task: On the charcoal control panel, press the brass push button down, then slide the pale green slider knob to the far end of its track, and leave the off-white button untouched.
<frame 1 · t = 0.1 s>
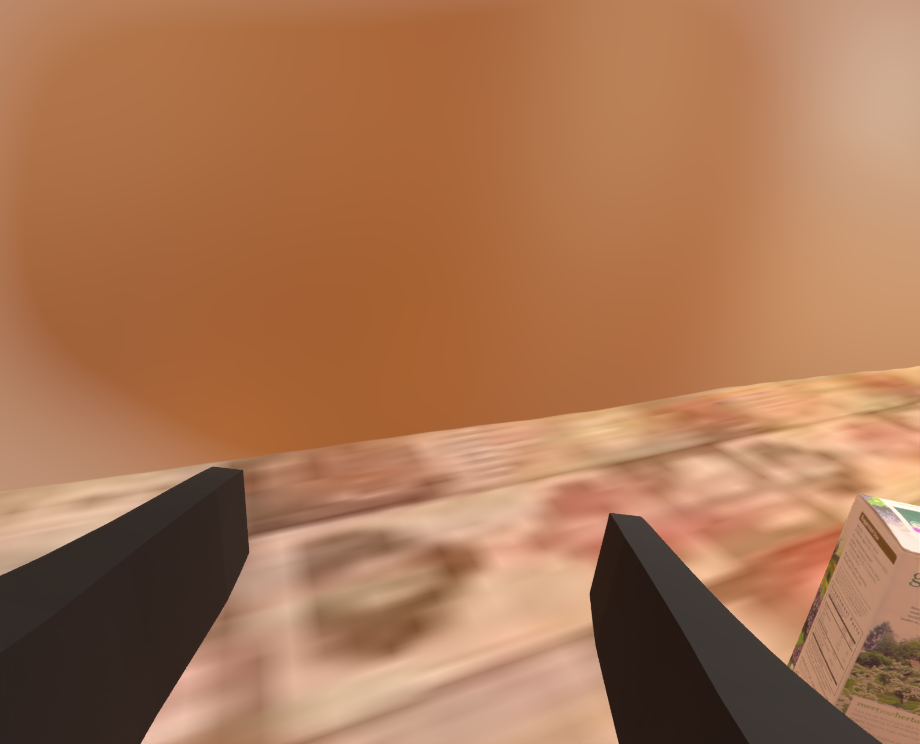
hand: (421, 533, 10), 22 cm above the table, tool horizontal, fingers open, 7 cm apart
syrup box: (845, 736, 32), on the table
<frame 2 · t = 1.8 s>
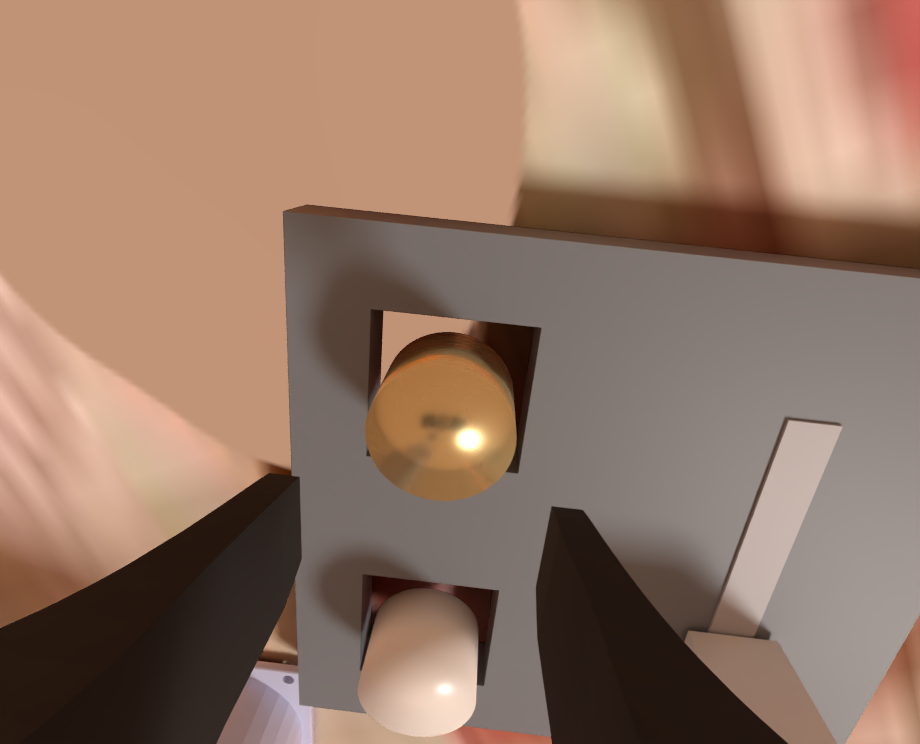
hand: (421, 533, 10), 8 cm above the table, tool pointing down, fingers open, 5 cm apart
white button: (421, 660, 19), point 3 cm above the table, slide at 0.0 cm
brass button: (445, 413, 15), point 3 cm above the table, slide at 0.0 cm
pale green slider knob: (754, 716, 17), point 5 cm above the table, slide at 0.0 cm
control panel: (599, 510, 20), on the table
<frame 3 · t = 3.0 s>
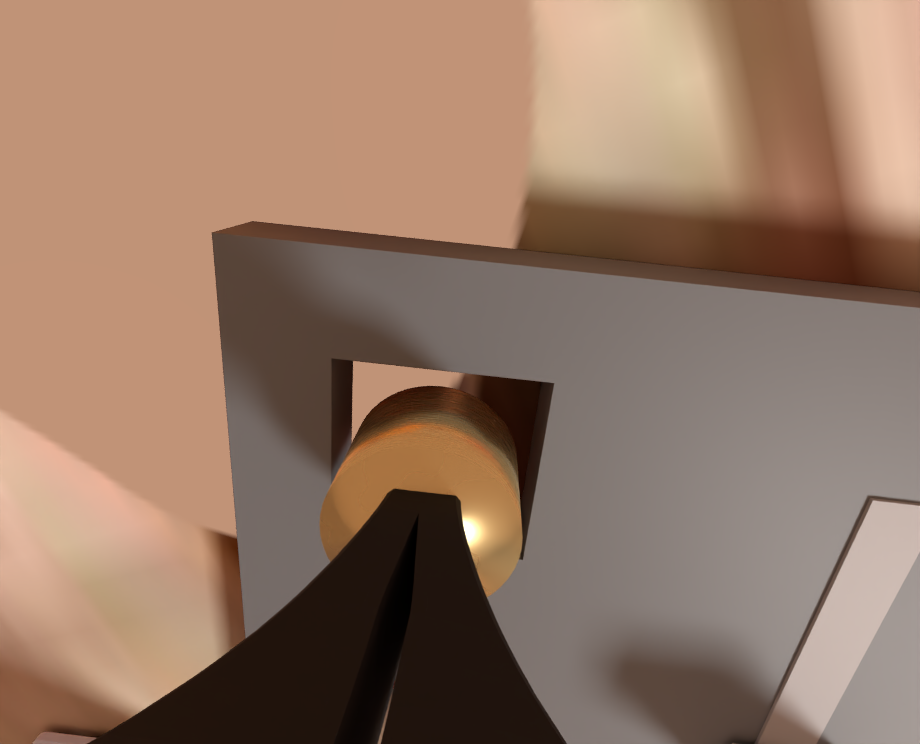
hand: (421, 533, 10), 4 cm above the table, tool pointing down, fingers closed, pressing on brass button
brass button: (428, 494, 12), point 3 cm above the table, slide at 0.1 cm, touching gripper
control panel: (621, 591, 16), on the table
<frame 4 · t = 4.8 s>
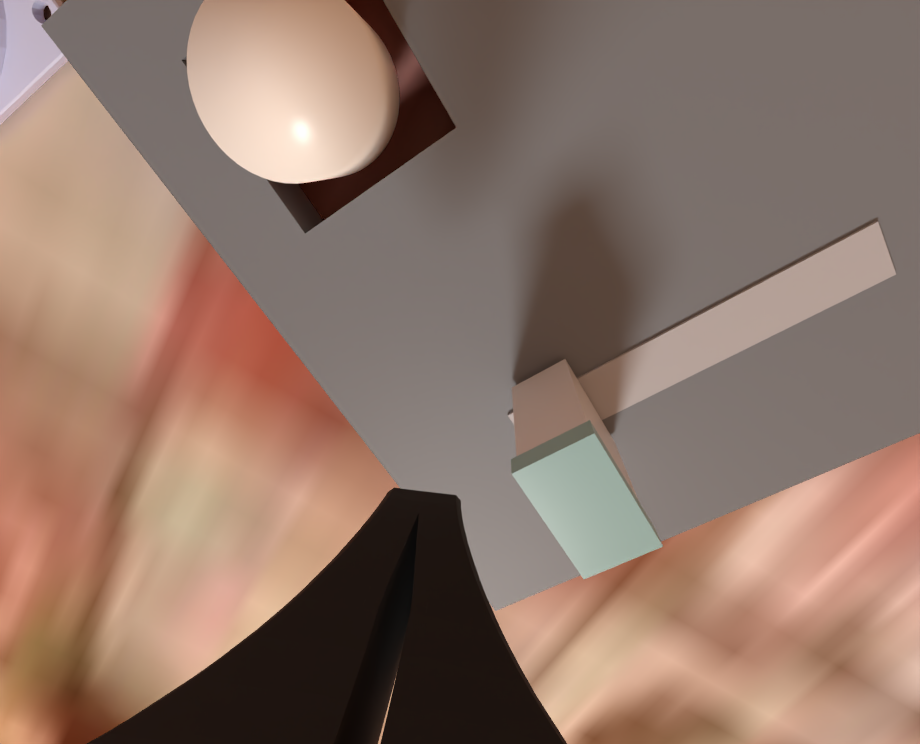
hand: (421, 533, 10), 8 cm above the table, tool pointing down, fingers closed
white button: (304, 88, 12), point 3 cm above the table, slide at 0.0 cm
pale green slider knob: (574, 455, 14), point 5 cm above the table, slide at 0.0 cm
control panel: (594, 190, 16), on the table
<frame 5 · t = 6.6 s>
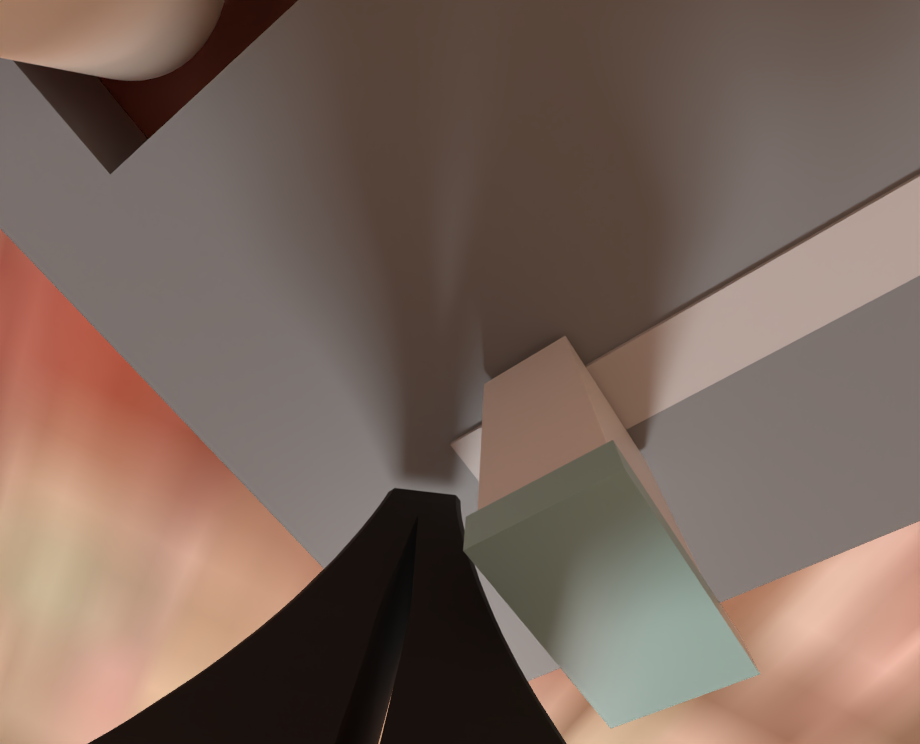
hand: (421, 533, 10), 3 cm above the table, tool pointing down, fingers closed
pale green slider knob: (585, 494, 8), point 5 cm above the table, slide at 0.8 cm, touching gripper
control panel: (567, 96, 10), on the table
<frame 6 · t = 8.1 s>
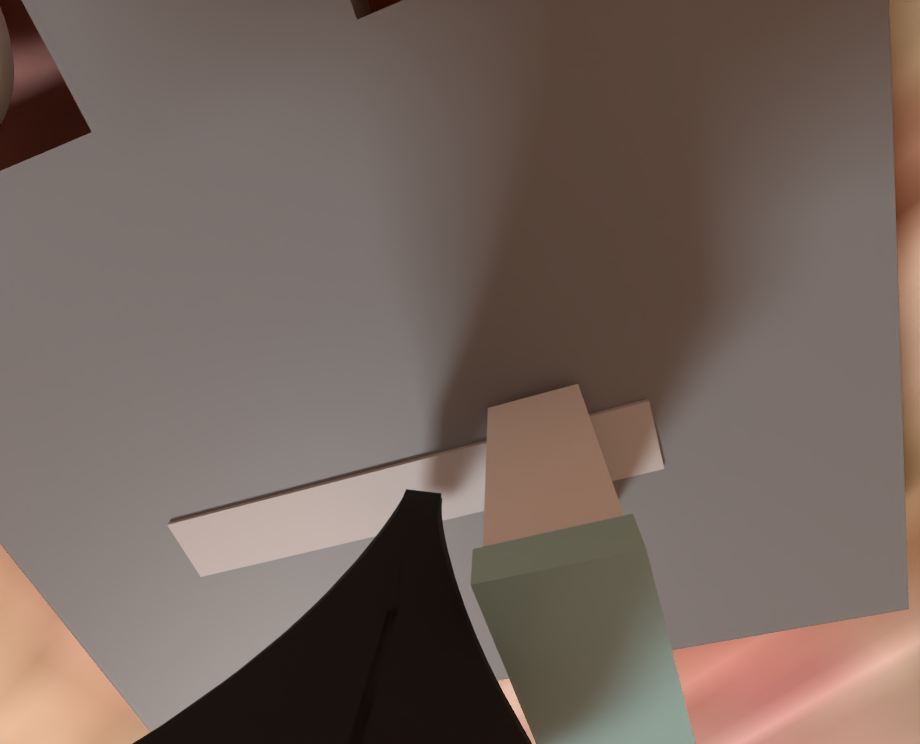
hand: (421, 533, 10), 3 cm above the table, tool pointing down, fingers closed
pale green slider knob: (567, 542, 9), point 5 cm above the table, slide at 7.4 cm, touching gripper
control panel: (336, 260, 12), on the table
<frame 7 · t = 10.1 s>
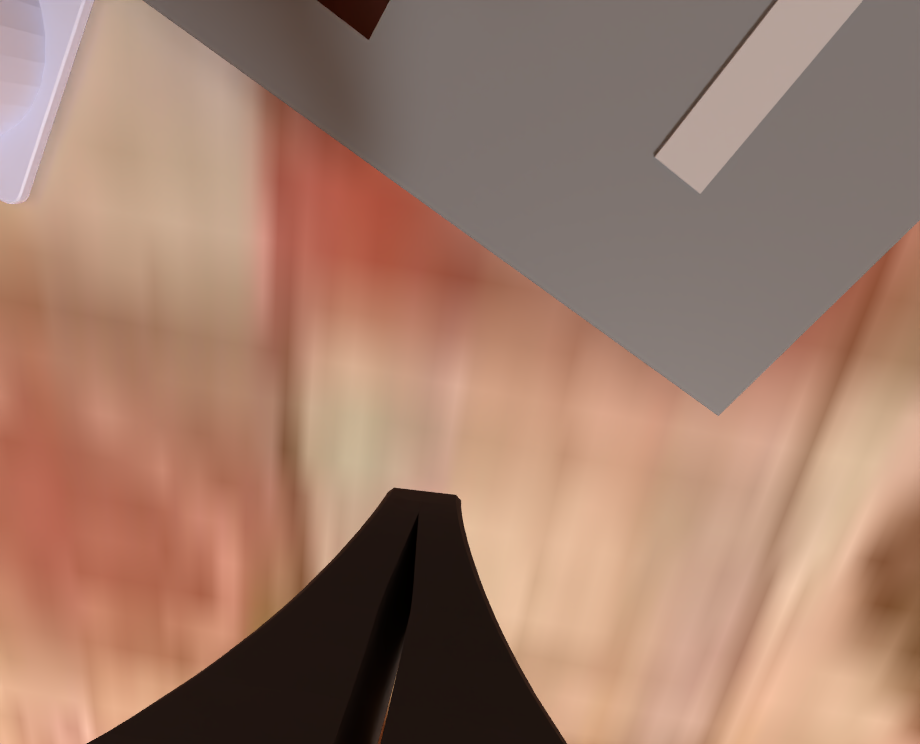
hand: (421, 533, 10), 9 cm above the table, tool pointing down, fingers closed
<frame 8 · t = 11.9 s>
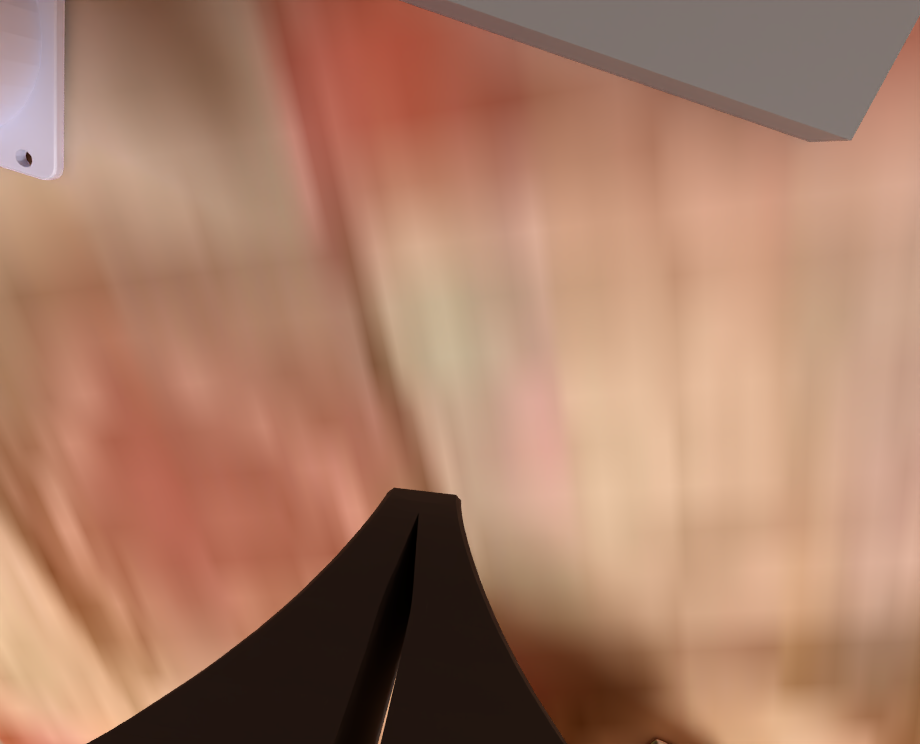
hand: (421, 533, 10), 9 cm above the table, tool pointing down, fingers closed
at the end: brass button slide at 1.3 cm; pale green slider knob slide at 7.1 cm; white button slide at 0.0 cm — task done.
